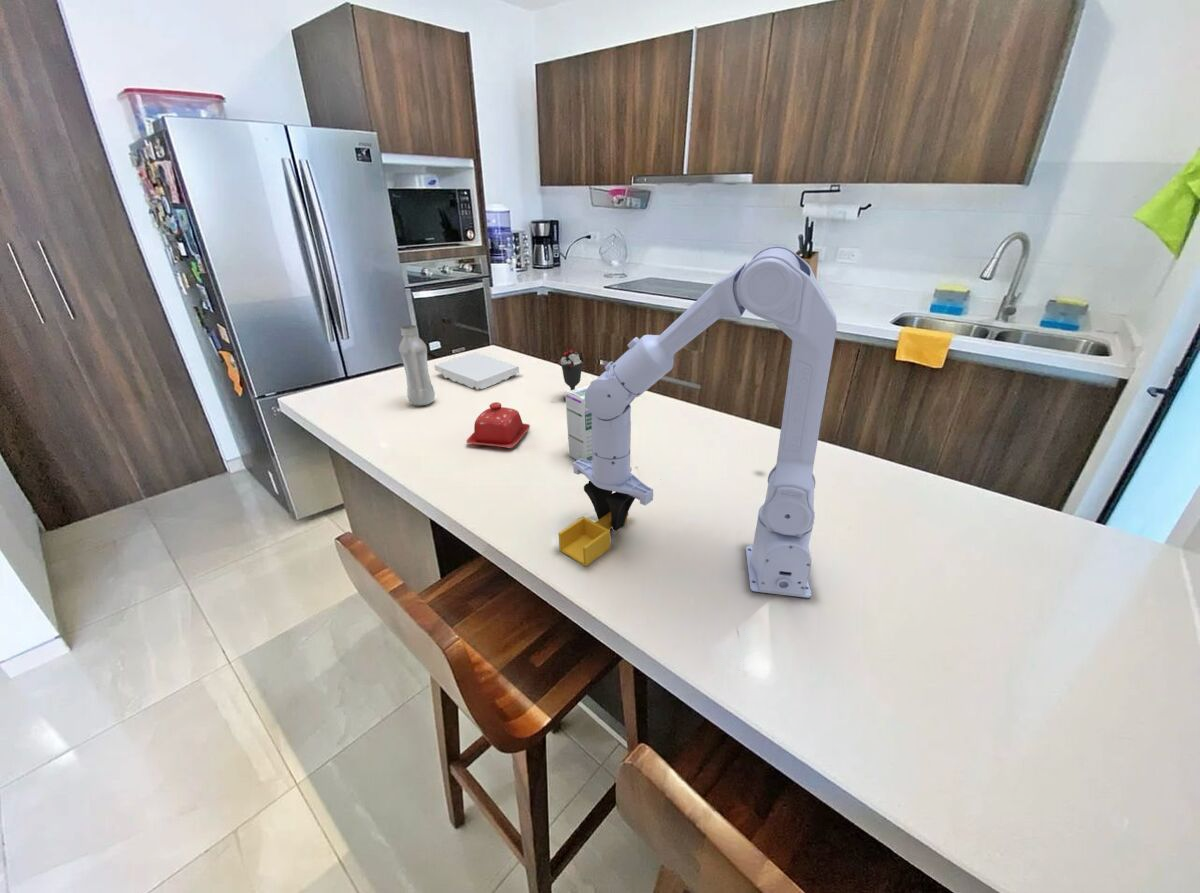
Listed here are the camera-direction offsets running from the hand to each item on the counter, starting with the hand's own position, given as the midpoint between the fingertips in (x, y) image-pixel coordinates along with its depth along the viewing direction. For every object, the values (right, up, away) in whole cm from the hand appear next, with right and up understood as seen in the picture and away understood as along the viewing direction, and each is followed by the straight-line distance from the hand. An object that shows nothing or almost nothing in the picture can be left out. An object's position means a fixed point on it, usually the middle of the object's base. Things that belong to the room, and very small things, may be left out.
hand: (611, 523), depth 81 cm
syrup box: (-5, +10, +23) cm, 26 cm away
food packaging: (-38, +33, +67) cm, 84 cm away
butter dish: (-24, +14, +31) cm, 42 cm away
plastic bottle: (-48, +24, +49) cm, 73 cm away
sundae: (-9, +25, +51) cm, 57 cm away
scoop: (-2, -2, -1) cm, 3 cm away
